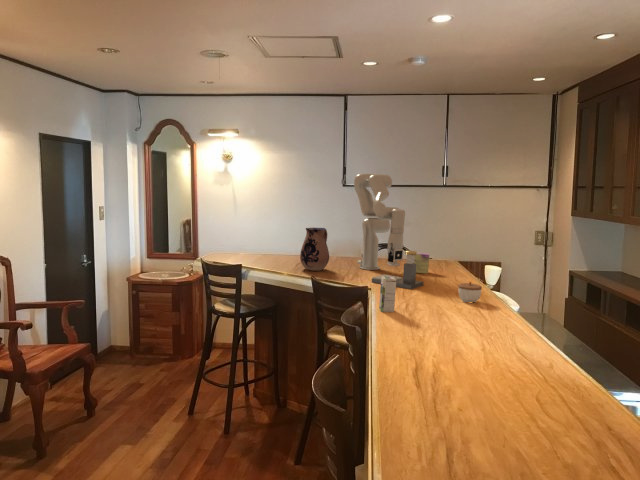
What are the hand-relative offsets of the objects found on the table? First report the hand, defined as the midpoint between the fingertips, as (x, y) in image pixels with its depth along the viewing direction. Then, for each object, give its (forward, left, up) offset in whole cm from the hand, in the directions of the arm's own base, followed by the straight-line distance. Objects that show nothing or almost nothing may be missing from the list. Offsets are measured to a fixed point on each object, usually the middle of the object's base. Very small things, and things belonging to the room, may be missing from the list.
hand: (394, 260), depth 299 cm
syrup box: (+35, -69, -10) cm, 78 cm away
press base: (+11, -16, -9) cm, 21 cm away
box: (+4, +24, -10) cm, 27 cm away
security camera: (0, 0, -3) cm, 3 cm away
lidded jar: (+55, -26, -10) cm, 61 cm away
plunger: (+18, -16, -2) cm, 24 cm away
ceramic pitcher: (-45, -16, -10) cm, 49 cm away
